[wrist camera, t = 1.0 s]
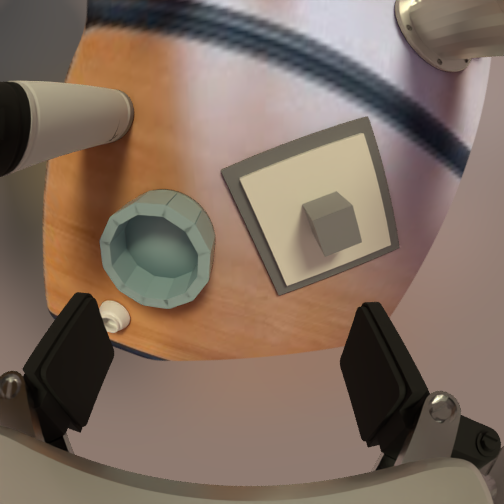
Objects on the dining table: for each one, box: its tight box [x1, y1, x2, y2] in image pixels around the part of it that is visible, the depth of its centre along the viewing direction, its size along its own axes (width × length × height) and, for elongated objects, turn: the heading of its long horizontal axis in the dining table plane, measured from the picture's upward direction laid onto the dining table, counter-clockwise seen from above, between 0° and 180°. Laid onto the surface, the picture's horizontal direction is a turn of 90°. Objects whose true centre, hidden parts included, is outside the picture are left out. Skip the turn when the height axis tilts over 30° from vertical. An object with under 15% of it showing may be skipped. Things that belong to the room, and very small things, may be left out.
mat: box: [221, 117, 399, 295], centre depth 30 cm, size 17×17×1 cm
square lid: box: [240, 133, 391, 286], centre depth 27 cm, size 14×14×6 cm
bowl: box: [100, 189, 215, 309], centre depth 29 cm, size 12×12×6 cm
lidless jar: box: [100, 301, 130, 333], centre depth 36 cm, size 5×3×5 cm
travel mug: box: [0, 81, 134, 177], centre depth 16 cm, size 6×7×20 cm
